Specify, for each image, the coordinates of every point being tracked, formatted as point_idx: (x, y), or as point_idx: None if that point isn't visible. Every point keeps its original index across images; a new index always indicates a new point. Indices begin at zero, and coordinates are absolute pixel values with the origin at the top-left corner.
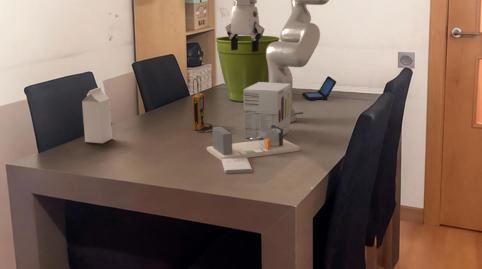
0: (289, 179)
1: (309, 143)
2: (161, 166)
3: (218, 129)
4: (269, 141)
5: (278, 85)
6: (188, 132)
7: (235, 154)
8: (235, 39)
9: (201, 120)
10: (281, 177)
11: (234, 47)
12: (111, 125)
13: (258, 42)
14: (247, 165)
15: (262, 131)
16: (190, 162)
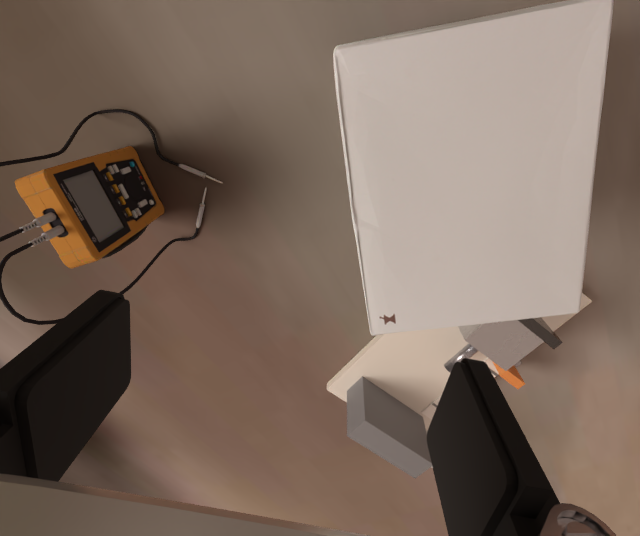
0: (601, 480)
1: (606, 206)
2: (307, 495)
3: (376, 446)
4: (521, 383)
5: (523, 97)
6: (152, 250)
7: None
8: (35, 447)
9: (140, 197)
10: (580, 476)
11: (113, 372)
12: None
13: (552, 492)
14: None
15: (483, 349)
16: (347, 462)
